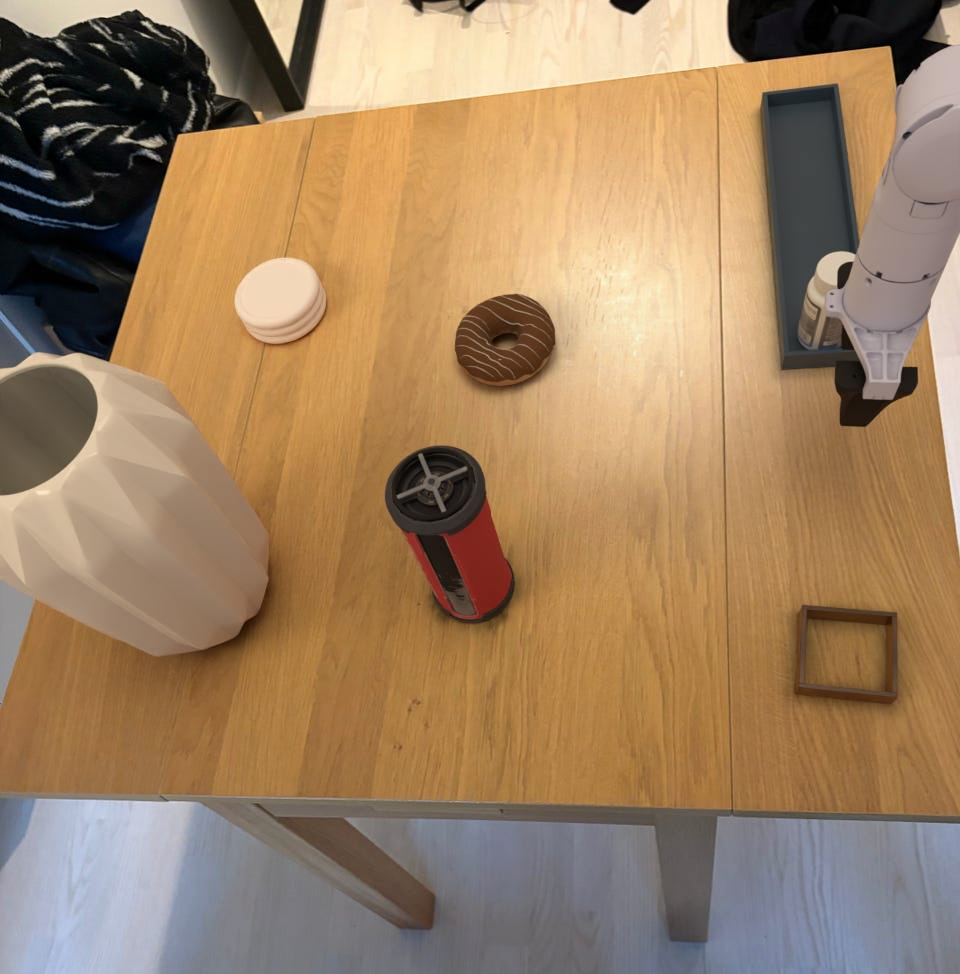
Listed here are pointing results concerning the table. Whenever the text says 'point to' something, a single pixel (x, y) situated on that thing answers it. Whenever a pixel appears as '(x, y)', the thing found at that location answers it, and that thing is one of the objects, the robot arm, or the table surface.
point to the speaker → (451, 531)
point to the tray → (805, 204)
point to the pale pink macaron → (280, 300)
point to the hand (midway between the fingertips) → (854, 384)
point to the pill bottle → (822, 305)
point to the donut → (497, 319)
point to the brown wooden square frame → (851, 616)
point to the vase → (122, 508)
